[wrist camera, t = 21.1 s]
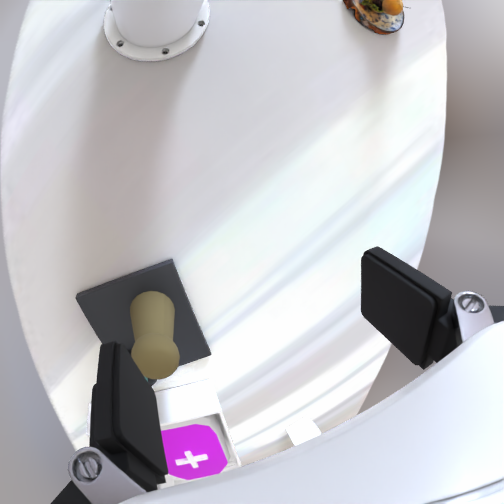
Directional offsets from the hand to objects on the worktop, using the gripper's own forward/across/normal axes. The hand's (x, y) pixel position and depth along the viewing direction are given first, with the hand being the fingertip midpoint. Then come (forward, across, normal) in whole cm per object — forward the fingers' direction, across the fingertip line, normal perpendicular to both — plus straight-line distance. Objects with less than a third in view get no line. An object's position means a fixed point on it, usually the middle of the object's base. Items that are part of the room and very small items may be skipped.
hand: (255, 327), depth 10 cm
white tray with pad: (+25, +18, +46) cm, 56 cm away
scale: (+26, +10, +16) cm, 33 cm away
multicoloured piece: (+28, -35, -24) cm, 51 cm away
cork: (+25, +8, +14) cm, 30 cm away
